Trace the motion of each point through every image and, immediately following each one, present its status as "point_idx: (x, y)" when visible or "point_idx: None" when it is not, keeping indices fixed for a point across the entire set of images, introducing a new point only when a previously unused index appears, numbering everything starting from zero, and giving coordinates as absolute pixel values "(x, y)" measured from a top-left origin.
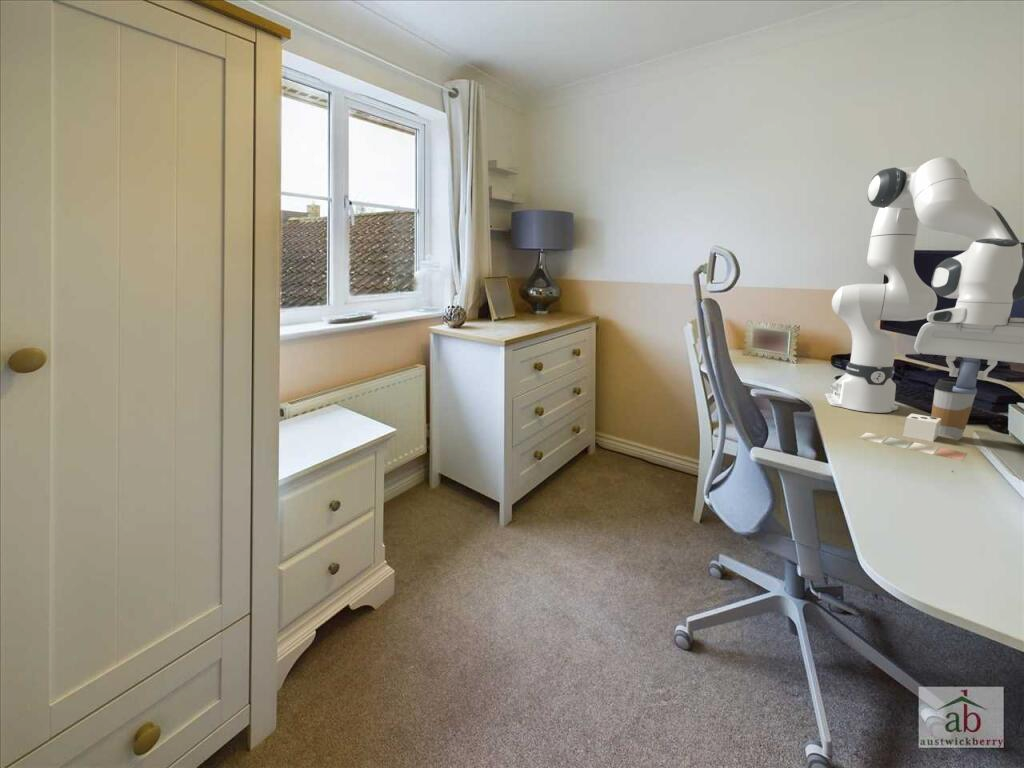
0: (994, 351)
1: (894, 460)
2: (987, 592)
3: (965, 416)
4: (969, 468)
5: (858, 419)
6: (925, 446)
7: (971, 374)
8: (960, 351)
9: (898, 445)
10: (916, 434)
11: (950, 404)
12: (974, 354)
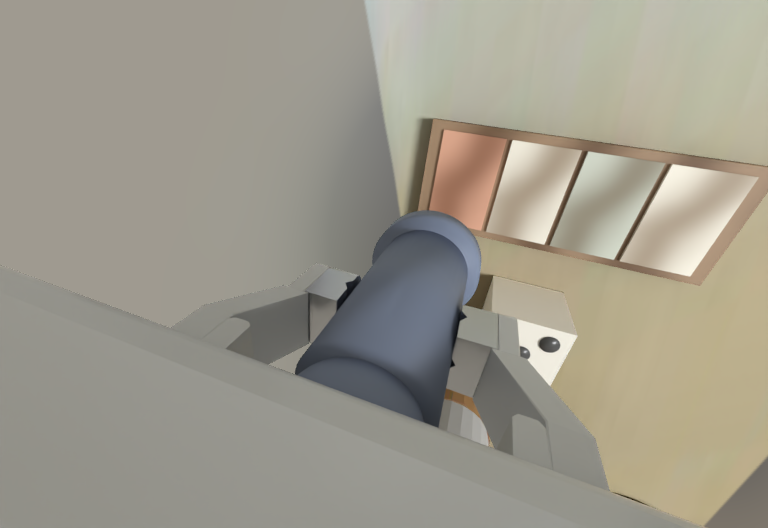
0: (43, 406)
1: (647, 14)
2: None
3: None
4: (429, 116)
5: (650, 435)
6: (520, 216)
7: (379, 277)
8: (457, 523)
9: (607, 172)
10: (534, 297)
11: (450, 414)
12: (288, 419)
